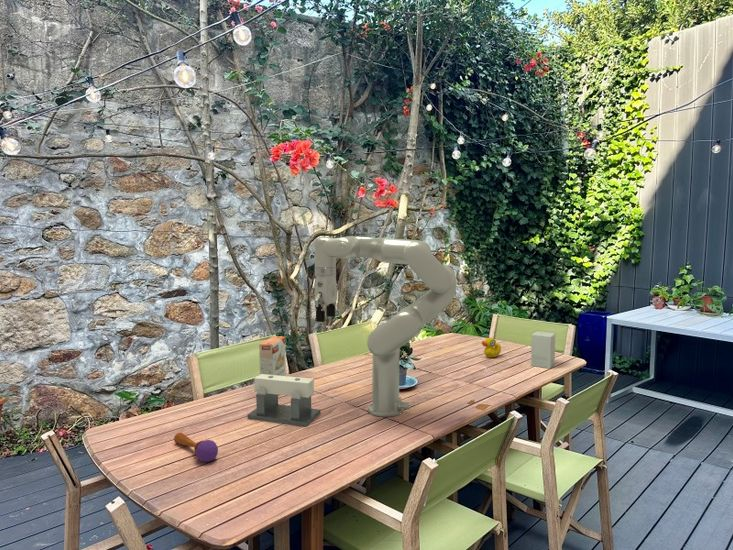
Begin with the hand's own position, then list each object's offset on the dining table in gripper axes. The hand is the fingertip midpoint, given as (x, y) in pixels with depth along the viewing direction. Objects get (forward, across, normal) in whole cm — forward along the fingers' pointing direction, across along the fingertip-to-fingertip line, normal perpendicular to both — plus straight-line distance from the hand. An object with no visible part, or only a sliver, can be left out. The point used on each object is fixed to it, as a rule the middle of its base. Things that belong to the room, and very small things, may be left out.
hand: (325, 319), depth 188 cm
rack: (+32, -14, +10) cm, 37 cm away
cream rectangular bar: (+24, -14, +10) cm, 29 cm away
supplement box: (+32, +80, -76) cm, 115 cm away
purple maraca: (+33, -47, +22) cm, 62 cm away
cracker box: (+32, +8, +26) cm, 42 cm away
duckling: (+32, +86, -52) cm, 106 cm away
